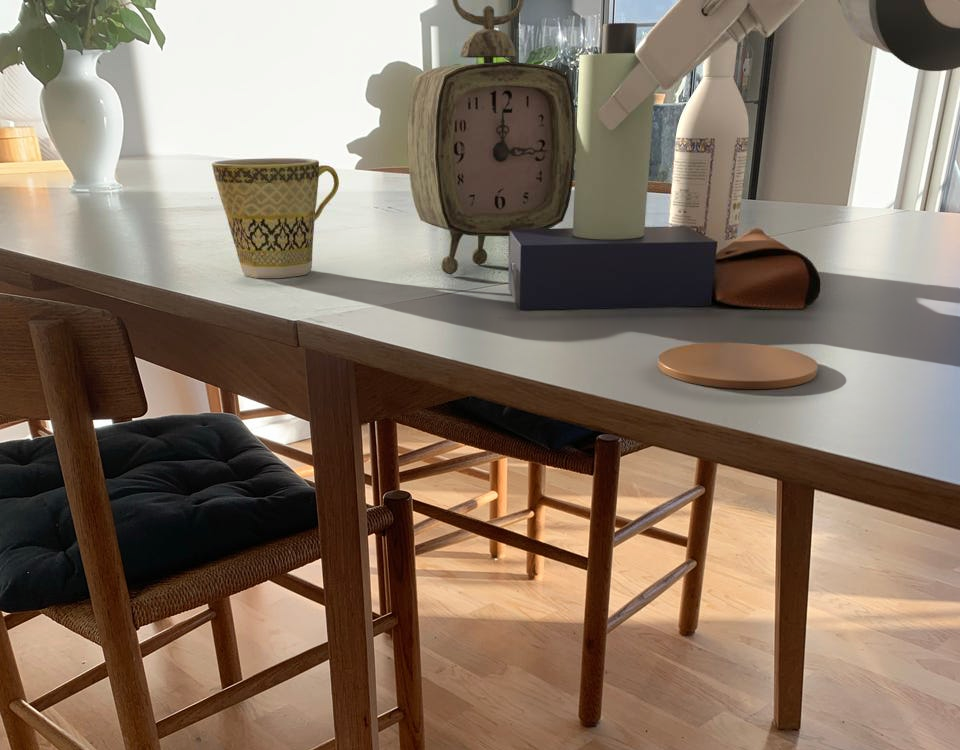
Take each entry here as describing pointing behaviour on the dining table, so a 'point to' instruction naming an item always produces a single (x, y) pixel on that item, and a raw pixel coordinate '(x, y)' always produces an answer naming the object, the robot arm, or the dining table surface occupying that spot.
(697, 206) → the bath foam
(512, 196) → the tabletop clock
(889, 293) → the dining table surface
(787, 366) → the coaster
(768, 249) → the sunglasses case
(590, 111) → the bottle
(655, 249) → the navy case
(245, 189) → the ceramic cup
